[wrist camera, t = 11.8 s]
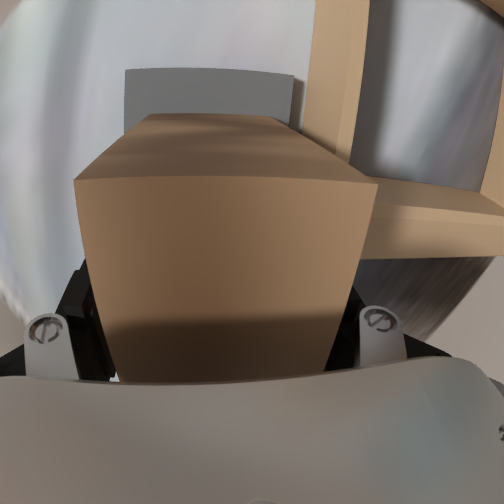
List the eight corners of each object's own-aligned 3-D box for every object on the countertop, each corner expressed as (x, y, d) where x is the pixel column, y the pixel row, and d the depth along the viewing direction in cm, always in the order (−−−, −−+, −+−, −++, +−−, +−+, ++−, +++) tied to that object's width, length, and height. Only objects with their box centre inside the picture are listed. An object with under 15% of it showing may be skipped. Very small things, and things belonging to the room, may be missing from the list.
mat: (289, 75, 13) (294, 75, 12) (258, 321, 20) (261, 330, 19) (129, 70, 11) (125, 69, 11) (144, 323, 18) (143, 333, 18)
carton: (509, -7, 10) (552, -5, 7) (473, 226, 19) (509, 255, 16) (323, -104, 7) (356, -136, 4) (289, 218, 16) (315, 260, 13)
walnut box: (269, 116, 13) (378, 184, 5) (250, 304, 18) (289, 452, 10) (149, 113, 12) (73, 180, 4) (159, 306, 17) (153, 462, 9)
